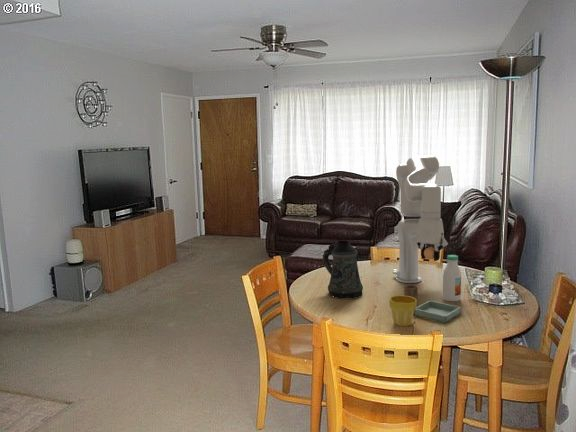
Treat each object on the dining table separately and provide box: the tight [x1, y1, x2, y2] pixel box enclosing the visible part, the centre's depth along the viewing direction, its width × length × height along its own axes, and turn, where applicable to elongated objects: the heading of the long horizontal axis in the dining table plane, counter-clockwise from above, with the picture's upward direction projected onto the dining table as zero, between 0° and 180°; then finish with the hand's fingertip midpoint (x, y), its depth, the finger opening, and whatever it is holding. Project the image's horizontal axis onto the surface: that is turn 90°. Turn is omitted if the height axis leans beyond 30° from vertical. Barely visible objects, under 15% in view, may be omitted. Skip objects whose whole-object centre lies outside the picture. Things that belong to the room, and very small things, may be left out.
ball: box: [424, 246, 435, 260], centre depth 198 cm, size 5×5×5 cm
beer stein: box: [322, 240, 364, 299], centre depth 226 cm, size 16×19×25 cm
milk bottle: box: [442, 254, 462, 302], centre depth 214 cm, size 8×8×20 cm
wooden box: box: [403, 284, 418, 301], centre depth 213 cm, size 4×4×7 cm
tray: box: [413, 300, 462, 324], centre depth 197 cm, size 14×14×3 cm
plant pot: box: [388, 294, 418, 327], centre depth 188 cm, size 10×10×10 cm
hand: (430, 258), depth 198 cm, fingers closed on ball, 4 cm apart
